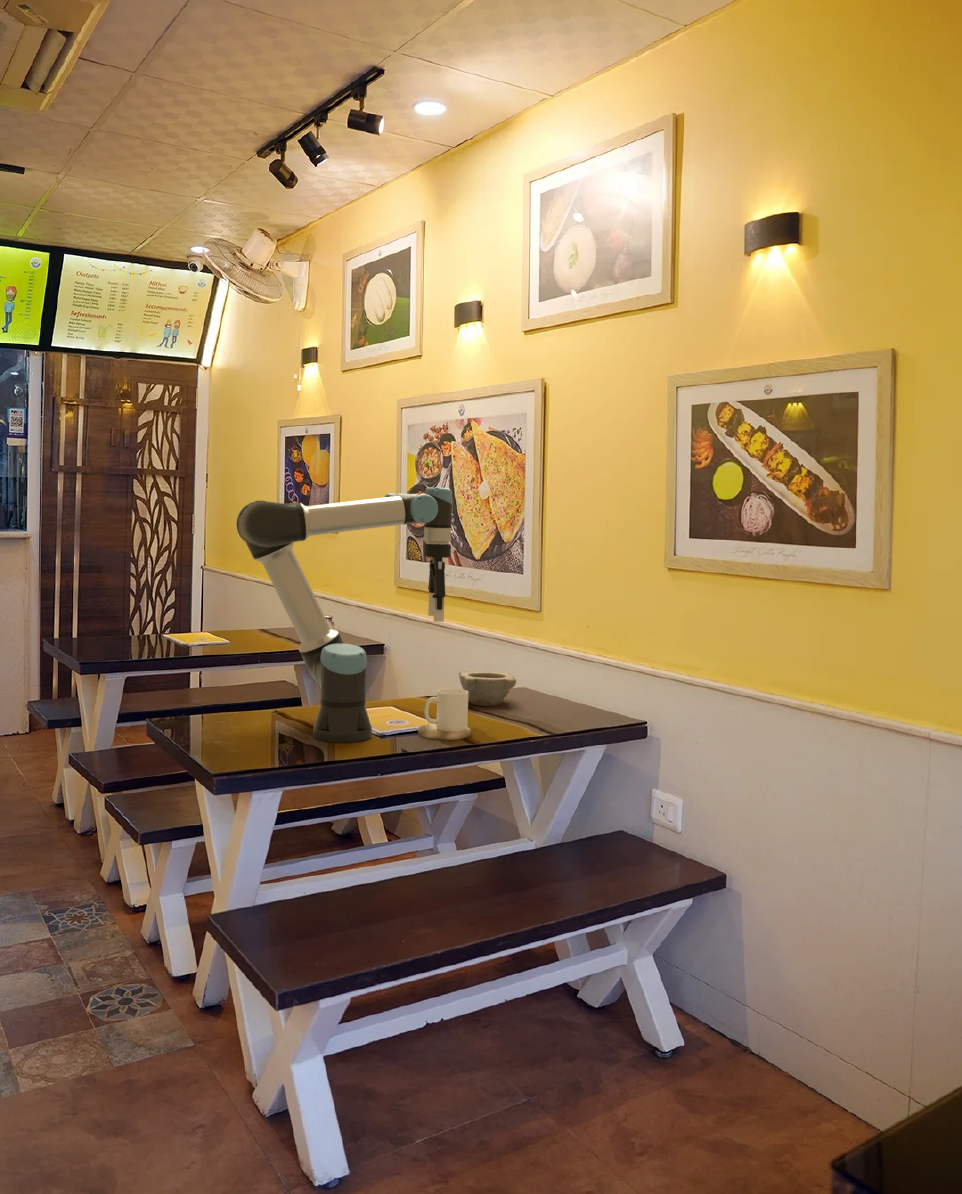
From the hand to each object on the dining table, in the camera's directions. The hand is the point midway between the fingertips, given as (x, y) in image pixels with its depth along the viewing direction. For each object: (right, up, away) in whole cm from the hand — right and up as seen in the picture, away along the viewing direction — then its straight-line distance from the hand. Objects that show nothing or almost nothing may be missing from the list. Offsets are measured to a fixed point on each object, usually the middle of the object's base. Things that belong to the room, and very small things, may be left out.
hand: (435, 618), depth 282 cm
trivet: (+3, -30, -15) cm, 34 cm away
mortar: (+14, -27, +27) cm, 41 cm away
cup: (+3, -29, -15) cm, 33 cm away
